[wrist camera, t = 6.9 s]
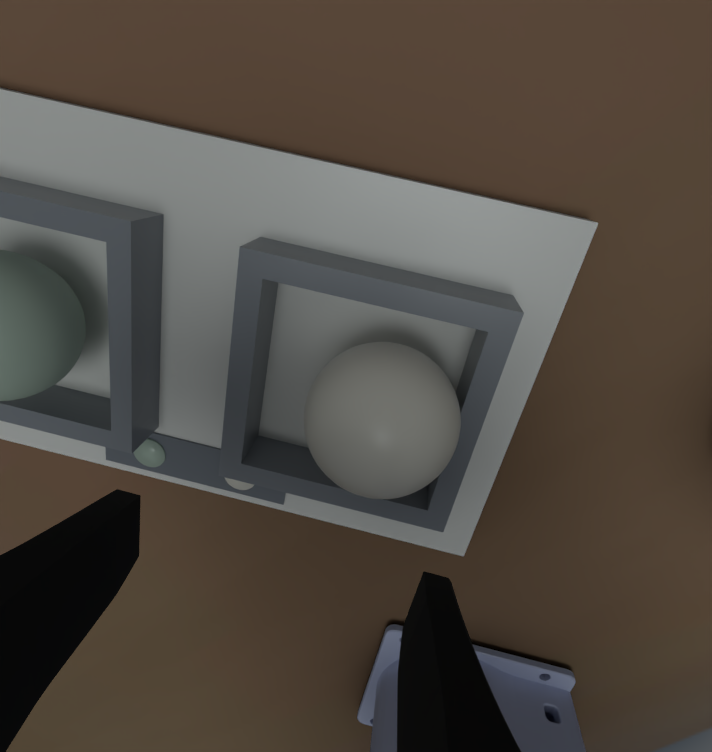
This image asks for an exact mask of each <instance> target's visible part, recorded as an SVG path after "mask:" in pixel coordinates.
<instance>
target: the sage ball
mask: <svg viewBox="0 0 712 752" xmlns="http://www.w3.org/2000/svg"><path fill="white" fill-rule="evenodd" d="M85 337H86V323H85V316H84V312H83V309H82V306H81V304H80V302H79V300H78V298H77V296H76V294H75V293H74V291H73V290H72V289H71V287H70V286H69V285H68V283H67V282H66V281H65V280H64V279H63V278H62V277H61V276H60V275H58V274H57V273H56V272H55V271H53V270H52V269H50V268H49V267H48V266H46V265H44V264H43V263H41V262H39V261H37V260H35V259H33V258H30V257H28V256H25V255H22V254H19V253H16V252H11V251H6V250H0V401H10V400H16V399H21V398H26V397H29V396H32V395H35V394H38V393H40V392H42V391H44V390H46V389H48V388H50V387H52V386H53V385H55V384H56V383H58V382H59V381H60V380H61V379H63V378H64V377H65V376H66V375H67V374H68V373H69V372H70V370H71V369H72V368H73V367H74V365H75V364H76V362H77V360H78V359H79V357H80V355H81V352H82V349H83V346H84V343H85Z"/></svg>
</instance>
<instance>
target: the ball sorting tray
mask: <svg viewBox="0 0 712 752" xmlns="http://www.w3.org/2000/svg"><path fill="white" fill-rule="evenodd" d="M597 225H598V223H597V222H594V221H592V220H589V219H585V218H581V217H576V216H572V215H568V214H563V213H559V212H554V211H550V210H545V209H541V208H536V207H532V206H527V205H523V204H518V203H514V202H510V201H505V200H501V199H496V198H492V197H487V196H483V195H478V194H474V193H469V192H465V191H460V190H456V189H452V188H447V187H443V186H438V185H434V184H429V183H425V182H420V181H416V180H411V179H407V178H403V177H398V176H394V175H389V174H385V173H380V172H376V171H371V170H367V169H362V168H358V167H353V166H349V165H345V164H340V163H336V162H331V161H327V160H322V159H318V158H313V157H309V156H304V155H300V154H295V153H291V152H287V151H282V150H278V149H273V148H269V147H264V146H260V145H255V144H251V143H246V142H242V141H237V140H233V139H229V138H224V137H220V136H215V135H211V134H206V133H202V132H197V131H193V130H188V129H184V128H179V127H175V126H171V125H166V124H162V123H157V122H153V121H148V120H144V119H139V118H135V117H130V116H126V115H121V114H117V113H113V112H108V111H104V110H99V109H95V108H90V107H86V106H81V105H77V104H72V103H68V102H63V101H59V100H55V99H50V98H46V97H41V96H37V95H32V94H28V93H23V92H19V91H14V90H10V89H5V88H1V87H0V250H6V251H11V252H16V253H19V254H22V255H25V256H28V257H30V258H33V259H35V260H37V261H39V262H41V263H43V264H44V265H46V266H48V267H49V268H50V269H52V270H53V271H55V272H56V273H57V274H58V275H60V276H61V277H62V278H63V279H64V280H65V281H66V282H67V283H68V285H69V286H70V287H71V289H72V290H73V291H74V293H75V294H76V296H77V298H78V300H79V302H80V304H81V306H82V309H83V312H84V316H85V323H86V337H85V343H84V346H83V349H82V352H81V355H80V357H79V359H78V360H77V362H76V364H75V365H74V367H73V368H72V369H71V370H70V372H69V373H68V374H67V375H66V376H65V377H64V378H63V379H61V380H60V381H59V382H58V383H56V384H55V385H53V386H52V387H50V388H48V389H46V390H44V391H42V392H40V393H38V394H35V395H32V396H29V397H26V398H21V399H16V400H10V401H0V439H4V440H8V441H12V442H16V443H20V444H24V445H28V446H31V447H35V448H39V449H43V450H47V451H51V452H55V453H59V454H63V455H67V456H71V457H75V458H79V459H83V460H86V461H90V462H94V463H98V464H102V465H106V466H110V467H114V468H118V469H122V470H126V471H130V472H134V473H138V474H141V475H145V476H149V477H153V478H157V479H161V480H165V481H169V482H173V483H177V484H181V485H185V486H189V487H193V488H196V489H200V490H204V491H208V492H212V493H216V494H220V495H224V496H228V497H232V498H236V499H240V500H244V501H248V502H251V503H255V504H259V505H263V506H267V507H271V508H275V509H279V510H283V511H287V512H291V513H295V514H299V515H303V516H306V517H310V518H314V519H318V520H322V521H326V522H330V523H334V524H338V525H342V526H346V527H350V528H354V529H358V530H361V531H365V532H369V533H373V534H377V535H381V536H385V537H389V538H393V539H397V540H401V541H405V542H409V543H413V544H416V545H420V546H424V547H428V548H432V549H436V550H440V551H444V552H448V553H452V554H456V555H460V556H464V554H465V552H466V549H467V547H468V544H469V542H470V540H471V537H472V535H473V532H474V530H475V527H476V525H477V522H478V520H479V517H480V515H481V512H482V510H483V507H484V505H485V502H486V500H487V497H488V495H489V492H490V490H491V488H492V485H493V483H494V480H495V478H496V475H497V473H498V470H499V468H500V465H501V463H502V460H503V458H504V455H505V453H506V450H507V448H508V445H509V443H510V441H511V438H512V436H513V433H514V431H515V428H516V426H517V423H518V421H519V418H520V416H521V413H522V411H523V408H524V406H525V403H526V401H527V398H528V396H529V393H530V391H531V389H532V386H533V384H534V381H535V379H536V376H537V374H538V371H539V369H540V366H541V364H542V361H543V359H544V356H545V354H546V351H547V349H548V346H549V344H550V341H551V339H552V337H553V334H554V332H555V329H556V327H557V324H558V322H559V319H560V317H561V314H562V312H563V309H564V307H565V304H566V302H567V299H568V297H569V294H570V292H571V290H572V287H573V285H574V282H575V280H576V277H577V275H578V272H579V270H580V267H581V265H582V262H583V260H584V257H585V255H586V252H587V250H588V247H589V245H590V242H591V240H592V238H593V235H594V233H595V230H596V228H597ZM372 342H392V343H398V344H402V345H406V346H409V347H411V348H413V349H416V350H418V351H420V352H422V353H423V354H425V355H426V356H428V357H429V358H430V359H432V360H433V361H434V362H435V363H436V364H437V365H438V366H439V367H440V368H441V369H442V370H443V372H444V373H445V374H446V376H447V377H448V378H449V380H450V382H451V384H452V386H453V388H454V390H455V392H456V396H457V399H458V403H459V407H460V415H461V428H460V434H459V440H458V443H457V447H456V449H455V451H454V454H453V456H452V458H451V460H450V461H449V463H448V465H447V466H446V467H445V469H444V470H443V471H442V472H441V474H440V475H439V476H438V477H437V478H436V479H434V480H433V481H432V482H431V483H429V484H428V485H427V486H425V487H424V488H422V489H420V490H418V491H416V492H414V493H412V494H409V495H407V496H403V497H399V498H394V499H371V498H366V497H363V496H359V495H355V494H353V493H351V492H348V491H347V490H345V489H343V488H341V487H340V486H338V485H337V484H335V483H334V482H333V481H332V480H331V479H330V478H328V477H327V476H326V475H325V474H324V472H323V471H322V470H321V469H320V468H319V466H318V465H317V464H316V462H315V460H314V458H313V457H312V454H311V452H310V450H309V447H308V445H307V441H306V437H305V432H304V408H305V403H306V399H307V396H308V393H309V390H310V388H311V386H312V384H313V382H314V380H315V379H316V377H317V375H318V374H319V373H320V371H321V370H322V369H323V368H324V367H325V366H326V365H327V364H328V363H329V362H330V361H331V360H332V359H333V358H335V357H336V356H337V355H339V354H340V353H342V352H344V351H346V350H348V349H350V348H352V347H355V346H358V345H361V344H365V343H372Z"/></svg>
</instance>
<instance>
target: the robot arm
mask: <svg viewBox="0 0 712 752" xmlns="http://www.w3.org/2000/svg"><path fill="white" fill-rule="evenodd" d="M139 533H140V495H136V494H133V493H129V492H125V491H121V490H118V489H117V490H115V491H113V492H111V493H110V494H108V495H106V496H104V497H103V498H101V499H99V500H98V501H96V502H94V503H92V504H91V505H89V506H87V507H86V508H84V509H82V510H81V511H79V512H77V513H76V514H74V515H72V516H70V517H69V518H67V519H65V520H64V521H62V522H60V523H58V524H57V525H55V526H53V527H51V528H50V529H48V530H46V531H44V532H43V533H41V534H39V535H37V536H35V537H34V538H32V539H30V540H28V541H27V542H25V543H23V544H21V545H19V546H17V547H16V548H14V549H12V550H10V551H8V552H6V553H4V554H2V555H0V752H6V750H7V749H8V747H9V745H10V744H11V742H12V741H13V739H14V737H15V736H16V734H17V733H18V731H19V729H20V728H21V726H22V725H23V723H24V722H25V720H26V718H27V717H28V715H29V714H30V712H31V710H32V709H33V707H34V706H35V704H36V703H37V701H38V700H39V698H40V697H41V695H42V694H43V693H44V691H45V690H46V688H47V687H48V685H49V684H50V683H51V681H52V680H53V679H54V677H55V676H56V675H57V673H58V672H59V671H60V669H61V668H62V667H63V665H64V664H65V663H66V661H67V660H68V659H69V657H70V656H71V655H72V653H73V652H74V651H75V649H76V648H77V647H78V645H79V644H80V643H81V641H82V640H83V639H84V637H85V636H86V635H87V633H88V632H89V631H90V629H91V628H92V627H93V625H94V624H95V623H96V621H97V620H98V619H99V617H100V616H101V615H102V613H103V612H104V611H105V609H106V608H107V607H108V605H109V604H110V602H111V601H112V600H113V598H114V597H115V596H116V594H117V593H118V591H119V589H120V588H121V586H122V584H123V583H124V581H125V579H126V578H127V576H128V574H129V572H130V571H131V569H132V567H133V565H134V564H135V562H136V560H137V558H138V557H139ZM575 683H576V681H575V677H574V674H573V672H572V671H570V670H568V669H565V668H561V667H557V666H553V665H550V664H546V663H542V662H538V661H534V660H530V659H527V658H523V657H519V656H515V655H511V654H508V653H504V652H500V651H496V650H492V649H488V648H485V647H481V646H477V645H473V644H472V642H471V639H470V637H469V634H468V631H467V629H466V626H465V623H464V620H463V617H462V615H461V612H460V609H459V606H458V603H457V599H456V596H455V593H454V590H453V587H452V583H451V581H450V580H449V578H446V577H443V576H439V575H435V574H431V573H428V572H423V575H422V578H421V580H420V583H419V586H418V588H417V591H416V594H415V596H414V599H413V601H412V604H411V607H410V609H409V612H408V615H407V617H406V620H405V623H404V625H403V626H400V625H396V624H393V625H389V626H388V627H387V628H386V630H385V632H384V635H383V638H382V641H381V644H380V647H379V650H378V653H377V656H376V659H375V662H374V665H373V668H372V671H371V674H370V677H369V680H368V683H367V686H366V689H365V692H364V695H363V698H362V701H361V703H360V706H359V709H358V715H357V719H358V720H359V722H361V723H363V724H366V725H369V726H372V737H371V747H370V752H586V750H585V746H584V743H583V739H582V735H581V731H580V728H579V724H578V720H577V716H576V712H575V709H574V705H573V701H572V697H571V693H570V691H571V690H572V688H573V687H574V685H575Z"/></svg>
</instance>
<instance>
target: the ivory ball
mask: <svg viewBox="0 0 712 752" xmlns="http://www.w3.org/2000/svg"><path fill="white" fill-rule="evenodd" d="M460 428H461V415H460V407H459V403H458V399H457V396H456V392H455V390H454V388H453V386H452V384H451V382H450V380H449V378H448V377H447V376H446V374H445V373H444V372H443V370H442V369H441V368H440V367H439V366H438V365H437V364H436V363H435V362H434V361H433V360H432V359H430V358H429V357H428V356H426V355H425V354H423V353H422V352H420V351H418V350H416V349H413V348H411V347H409V346H406V345H402V344H398V343H392V342H372V343H365V344H361V345H358V346H355V347H352V348H350V349H348V350H346V351H344V352H342V353H340V354H339V355H337V356H336V357H335V358H333V359H332V360H331V361H330V362H329V363H328V364H327V365H326V366H325V367H324V368H323V369H322V370H321V371H320V373H319V374H318V375H317V377H316V379H315V380H314V382H313V384H312V386H311V388H310V390H309V393H308V396H307V399H306V403H305V408H304V432H305V437H306V441H307V445H308V447H309V450H310V452H311V454H312V457H313V458H314V460H315V462H316V464H317V465H318V466H319V468H320V469H321V470H322V471H323V472H324V474H325V475H326V476H327V477H328V478H330V479H331V480H332V481H333V482H334V483H335V484H337V485H338V486H340V487H341V488H343V489H345V490H347V491H348V492H351V493H353V494H355V495H359V496H363V497H366V498H371V499H394V498H399V497H403V496H407V495H409V494H412V493H414V492H416V491H418V490H420V489H422V488H424V487H425V486H427V485H428V484H429V483H431V482H432V481H433V480H434V479H436V478H437V477H438V476H439V475H440V474H441V472H442V471H443V470H444V469H445V467H446V466H447V465H448V463H449V461H450V460H451V458H452V456H453V454H454V451H455V449H456V447H457V443H458V440H459V434H460Z"/></svg>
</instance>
